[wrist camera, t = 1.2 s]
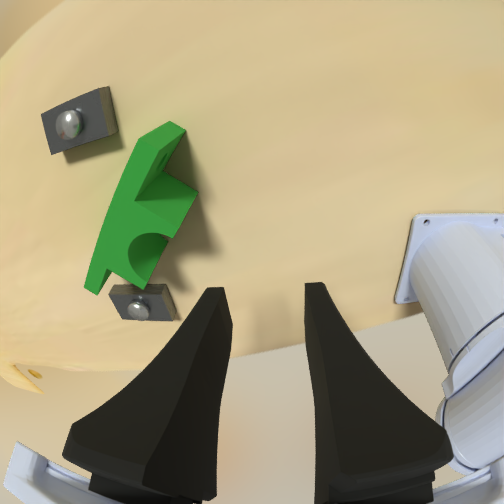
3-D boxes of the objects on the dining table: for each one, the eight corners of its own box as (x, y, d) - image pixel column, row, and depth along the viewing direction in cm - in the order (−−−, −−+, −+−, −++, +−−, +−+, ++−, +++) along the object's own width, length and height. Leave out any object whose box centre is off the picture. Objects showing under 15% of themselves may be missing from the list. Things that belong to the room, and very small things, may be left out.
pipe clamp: (150, 272, 21) (129, 315, 18) (110, 248, 20) (83, 287, 17) (225, 152, 16) (208, 181, 12) (170, 119, 15) (137, 138, 11)
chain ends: (108, 86, 13) (92, 89, 12) (176, 310, 23) (171, 326, 22) (51, 110, 14) (35, 116, 12) (126, 309, 24) (119, 324, 22)
